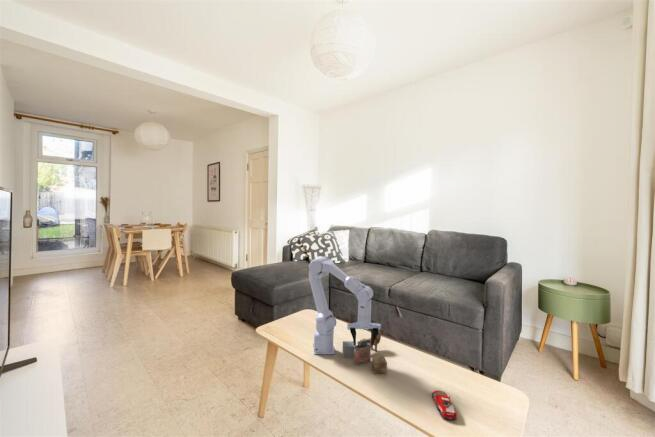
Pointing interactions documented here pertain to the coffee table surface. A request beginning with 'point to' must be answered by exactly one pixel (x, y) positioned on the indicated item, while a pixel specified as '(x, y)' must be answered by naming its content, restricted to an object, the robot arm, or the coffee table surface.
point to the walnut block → (379, 365)
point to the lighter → (362, 352)
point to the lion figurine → (375, 341)
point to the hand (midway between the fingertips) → (363, 344)
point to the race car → (444, 405)
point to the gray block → (348, 349)
